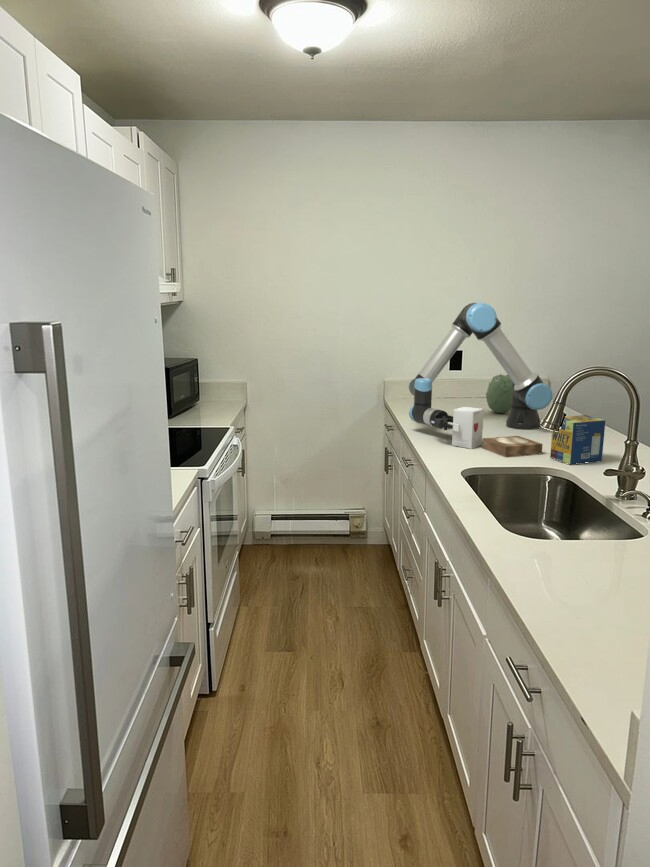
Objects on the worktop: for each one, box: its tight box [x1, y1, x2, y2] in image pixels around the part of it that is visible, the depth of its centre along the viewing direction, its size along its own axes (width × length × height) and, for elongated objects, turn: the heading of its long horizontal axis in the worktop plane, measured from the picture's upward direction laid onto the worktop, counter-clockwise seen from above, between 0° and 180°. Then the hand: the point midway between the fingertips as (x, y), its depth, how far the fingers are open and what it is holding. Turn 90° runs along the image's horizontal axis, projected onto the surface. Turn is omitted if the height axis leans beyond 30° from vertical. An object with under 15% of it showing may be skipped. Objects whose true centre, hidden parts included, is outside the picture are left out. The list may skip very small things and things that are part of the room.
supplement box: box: [451, 406, 484, 450], centre depth 272 cm, size 9×9×15 cm
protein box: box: [549, 414, 606, 465], centre depth 248 cm, size 10×15×16 cm
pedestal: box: [481, 435, 544, 458], centre depth 263 cm, size 16×16×4 cm
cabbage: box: [485, 373, 513, 414], centre depth 346 cm, size 16×19×20 cm
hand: (470, 426), depth 270 cm, fingers closed on supplement box, 11 cm apart
